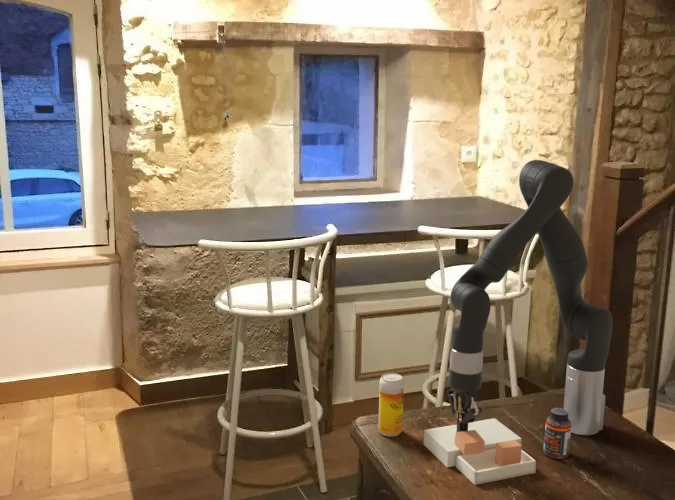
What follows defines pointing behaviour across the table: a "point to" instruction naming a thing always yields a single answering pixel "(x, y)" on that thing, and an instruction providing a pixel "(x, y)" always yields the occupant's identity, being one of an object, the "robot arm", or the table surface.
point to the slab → (489, 430)
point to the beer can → (391, 404)
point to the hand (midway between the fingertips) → (461, 435)
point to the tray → (492, 467)
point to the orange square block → (469, 442)
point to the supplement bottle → (557, 434)
